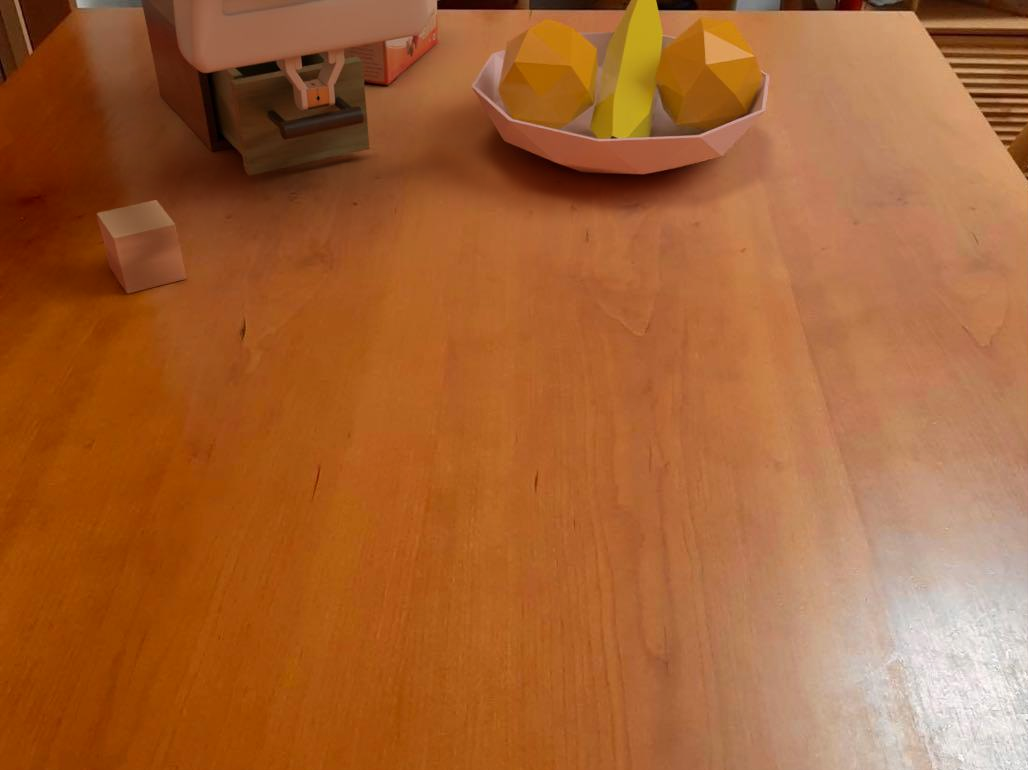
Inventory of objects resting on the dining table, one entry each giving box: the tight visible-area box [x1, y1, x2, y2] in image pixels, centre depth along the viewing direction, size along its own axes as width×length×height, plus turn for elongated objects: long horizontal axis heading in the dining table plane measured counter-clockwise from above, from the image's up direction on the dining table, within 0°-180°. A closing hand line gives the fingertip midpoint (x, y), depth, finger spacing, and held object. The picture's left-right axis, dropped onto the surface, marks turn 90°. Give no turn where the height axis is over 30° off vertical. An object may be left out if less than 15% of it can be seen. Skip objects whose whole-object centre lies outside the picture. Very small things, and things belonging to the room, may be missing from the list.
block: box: [96, 199, 187, 295], centre depth 88 cm, size 5×5×5 cm
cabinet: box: [141, 0, 235, 152], centre depth 110 cm, size 16×13×10 cm
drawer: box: [207, 53, 370, 176], centre depth 103 cm, size 19×11×8 cm, turn 30°
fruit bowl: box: [470, 0, 771, 175], centre depth 105 cm, size 28×27×11 cm
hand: (315, 105), depth 96 cm, fingers closed
